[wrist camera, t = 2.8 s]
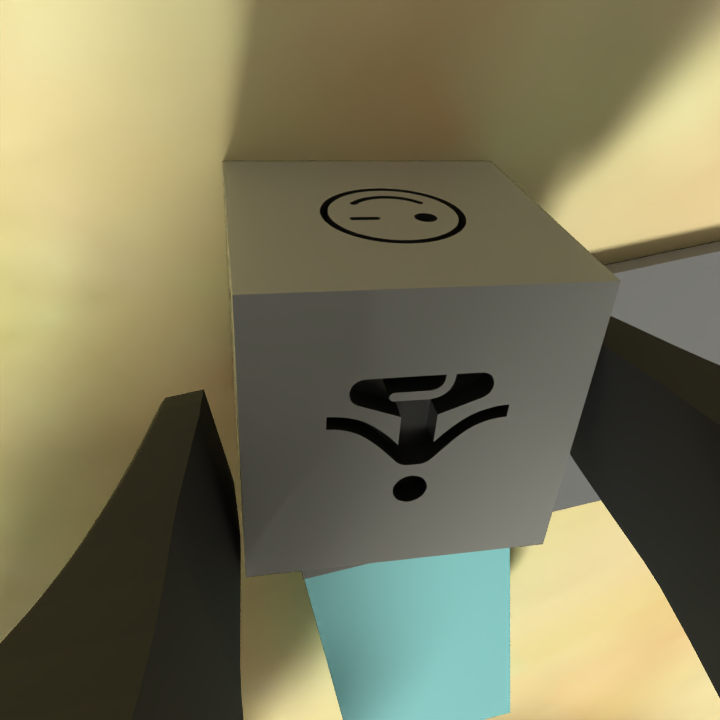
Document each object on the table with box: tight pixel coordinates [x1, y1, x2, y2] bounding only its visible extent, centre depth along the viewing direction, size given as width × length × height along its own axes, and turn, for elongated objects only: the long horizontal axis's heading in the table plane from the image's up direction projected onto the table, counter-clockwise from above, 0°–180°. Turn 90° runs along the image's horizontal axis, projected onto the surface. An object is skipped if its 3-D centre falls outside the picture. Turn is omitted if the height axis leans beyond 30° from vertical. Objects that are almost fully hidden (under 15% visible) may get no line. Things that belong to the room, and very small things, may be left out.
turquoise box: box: [302, 548, 510, 720], centre depth 17 cm, size 8×4×3 cm, turn 7°
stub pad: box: [552, 241, 720, 512], centre depth 17 cm, size 7×7×1 cm
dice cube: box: [223, 161, 621, 577], centre depth 12 cm, size 5×5×5 cm
